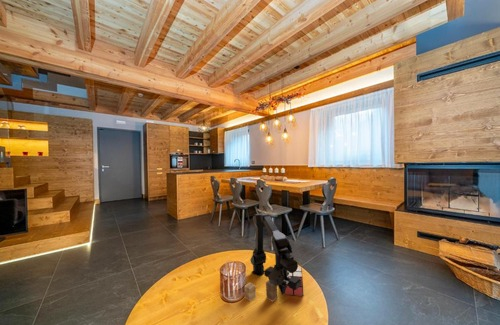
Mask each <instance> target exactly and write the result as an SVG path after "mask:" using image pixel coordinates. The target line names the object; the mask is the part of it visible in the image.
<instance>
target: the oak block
mask: <svg viewBox="0 0 500 325" xmlns="http://www.w3.org/2000/svg"><path fill="white" fill-rule="evenodd" d="M244 298H245V299H247V300H248V301H250V302H251V301H252V300H253V299H255V298H256V285H255V284H253V283H252V282H248V283H247V284H245V285H244Z"/></svg>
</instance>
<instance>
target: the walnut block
mask: <svg viewBox="0 0 500 325" xmlns="http://www.w3.org/2000/svg"><path fill="white" fill-rule="evenodd" d="M265 290H266V291H265V292H266V293H265V295H266V299H267V300H269V301H271V302H274V301H275V300H276V299H277V298H278V286H275V285H273V284H271V283H270V282H269V280H267V281H266V282H265Z"/></svg>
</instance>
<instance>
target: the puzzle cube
mask: <svg viewBox="0 0 500 325" xmlns="http://www.w3.org/2000/svg"><path fill="white" fill-rule="evenodd" d="M302 268H303V267H301V266H300V267H299V266H298V268H297V270H296V271H295V272H294V273H290V272H289V275H288V276H290V277H291V278H292V277H293V276H295V277H297V278H300V279H301V281H302V285H301V286H300V287H299V288H298V289H297V290H293V289H291V288H289V286H288V285H287V288H286V290H285V293H284V295H287V296H288V295H289V296H300V297H301V296H302V297H303V296H304V279H303V270H302Z"/></svg>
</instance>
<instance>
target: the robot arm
mask: <svg viewBox="0 0 500 325" xmlns="http://www.w3.org/2000/svg"><path fill="white" fill-rule="evenodd" d="M252 220H253V224H254V225H255V248H254V249H253V250H252V256H251V257H250V263H251V265H252V267H253V268H252V271H251V273H252V274H253V275H255V276H258V277H260V276H261V275H264V276H265V277H266V278H268V281H269V282H270V283H271V284H273V285H275V286H277V288H278V290H279V292H280V294H281V295H282V296H284V295H285V294H284V293H285V290H286V288H287V285H288V286H289V288H291V289H293V290H297V289H298V288H299V287H300V286H301V285H302V281H301V279H300V278H297V277H295V276H293V277H292V278H291V277H290V276H288V275H289V272H290V273H294V272H295V271H296V270H297V268H298V267H299V263H298V261H297V260H296V259H295V258H294V256H293V255H291V254H292V253H293V250H292V249H293V247H292V245H291V243H290V241H289V239H288V237H287V236H286V235H285V234H284V233H282V232H280V230H279V228H278V227H277V225H276V224H275V222H274V220H273V219H272V218H271V214H270V213H265V212H262V213H261V212H260V213H254V214H253V216H252ZM265 228H266V230H267V231H268V233H269V235H270V237H271V245H272V248H273V249H272V250H273V251H274V253H275V256H274V257H275V258H274V259H275V264H274V265H273V266H271V265H270V266H269V267H267V268H265V266H264V264H266V262H267V254H266V252H265V251H264V230H265Z"/></svg>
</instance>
